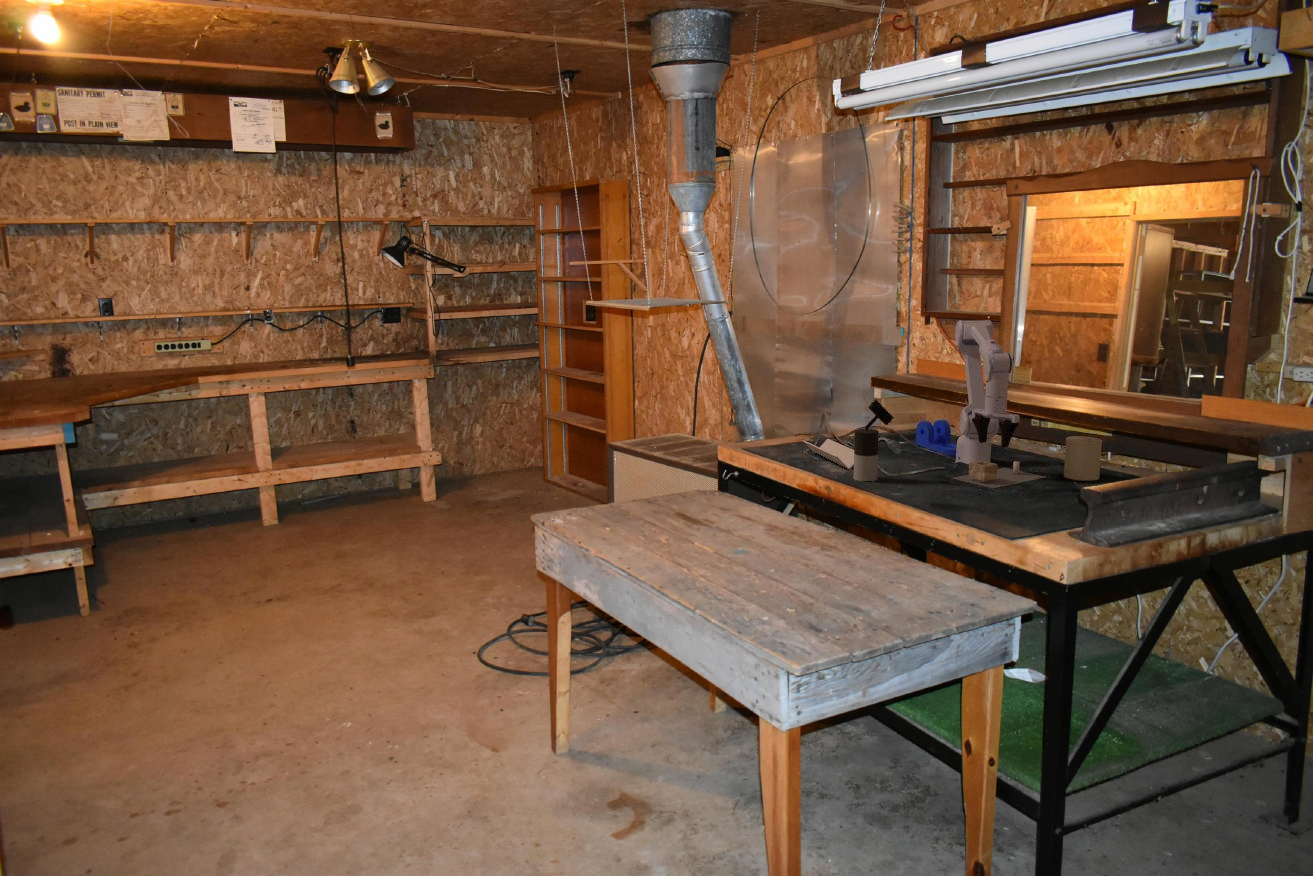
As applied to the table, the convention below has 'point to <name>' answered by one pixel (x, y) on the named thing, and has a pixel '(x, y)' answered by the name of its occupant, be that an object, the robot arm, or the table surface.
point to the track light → (869, 445)
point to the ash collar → (983, 470)
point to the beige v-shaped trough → (834, 452)
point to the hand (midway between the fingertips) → (993, 444)
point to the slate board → (1001, 478)
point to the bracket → (935, 437)
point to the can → (1082, 458)
